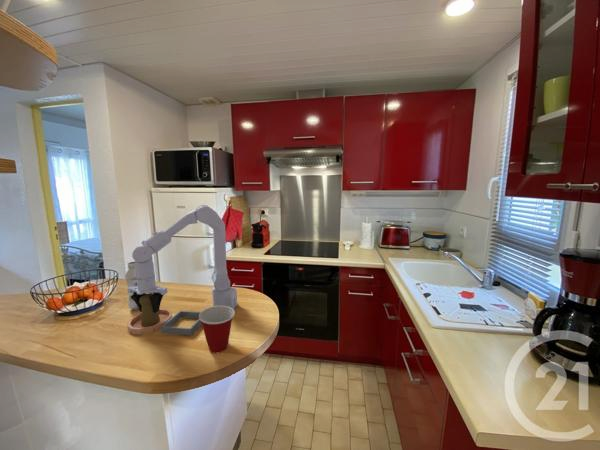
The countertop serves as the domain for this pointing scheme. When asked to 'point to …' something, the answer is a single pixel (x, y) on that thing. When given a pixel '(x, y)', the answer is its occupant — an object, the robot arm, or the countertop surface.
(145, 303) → the olive rounded piece
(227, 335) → the plastic cup
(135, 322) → the dish
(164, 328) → the parts tray
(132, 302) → the plastic bottle
